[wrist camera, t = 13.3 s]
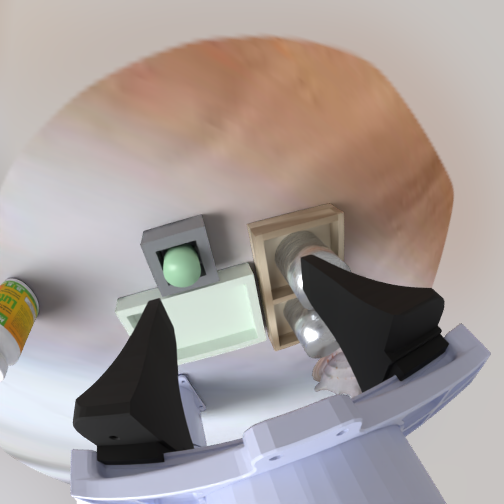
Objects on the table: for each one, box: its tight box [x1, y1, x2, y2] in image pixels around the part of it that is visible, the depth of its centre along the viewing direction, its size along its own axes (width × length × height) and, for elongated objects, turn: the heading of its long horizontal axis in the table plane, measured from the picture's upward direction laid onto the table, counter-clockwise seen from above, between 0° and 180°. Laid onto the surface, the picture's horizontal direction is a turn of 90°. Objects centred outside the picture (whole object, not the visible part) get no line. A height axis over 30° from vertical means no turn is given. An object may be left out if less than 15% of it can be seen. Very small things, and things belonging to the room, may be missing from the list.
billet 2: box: [283, 298, 340, 358], centre depth 26 cm, size 5×5×6 cm
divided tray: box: [247, 203, 344, 351], centre depth 26 cm, size 14×8×2 cm, turn 10°
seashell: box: [312, 348, 362, 398], centre depth 33 cm, size 10×12×9 cm
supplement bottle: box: [0, 279, 39, 382], centre depth 16 cm, size 5×5×10 cm
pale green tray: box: [115, 262, 266, 365], centre depth 25 cm, size 9×13×2 cm
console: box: [140, 215, 220, 297], centre depth 22 cm, size 5×5×2 cm
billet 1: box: [275, 231, 351, 311], centre depth 22 cm, size 5×5×6 cm
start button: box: [163, 243, 201, 287], centre depth 20 cm, size 3×3×2 cm
